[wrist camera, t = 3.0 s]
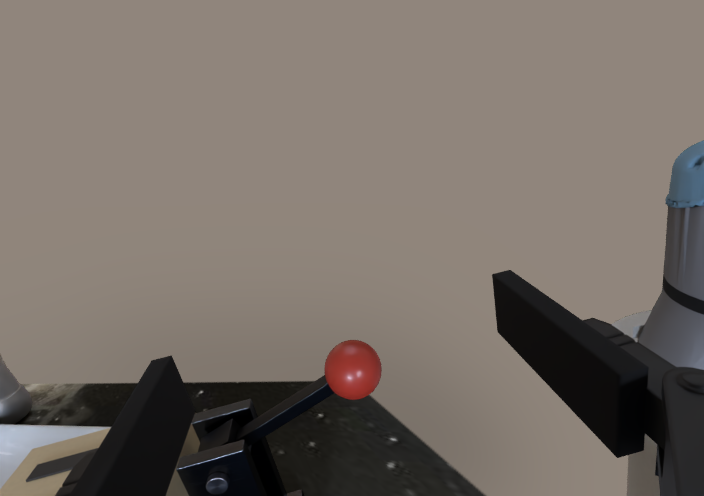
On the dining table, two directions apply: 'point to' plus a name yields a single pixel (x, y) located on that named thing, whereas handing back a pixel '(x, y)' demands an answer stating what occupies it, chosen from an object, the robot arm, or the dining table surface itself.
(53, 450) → the toaster
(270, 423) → the lever
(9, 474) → the square plate
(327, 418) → the dining table surface
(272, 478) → the lever bracket
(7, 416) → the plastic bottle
